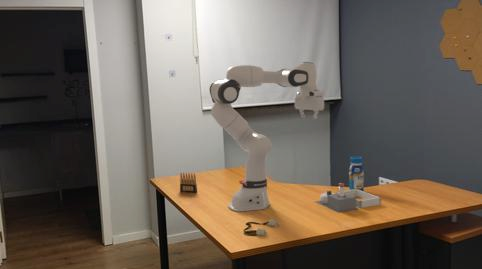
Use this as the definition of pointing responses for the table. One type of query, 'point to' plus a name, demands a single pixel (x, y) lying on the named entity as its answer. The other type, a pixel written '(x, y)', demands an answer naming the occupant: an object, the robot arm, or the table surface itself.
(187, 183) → the ammunition clip
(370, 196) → the tray
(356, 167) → the beverage bottle
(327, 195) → the grey rectangular block
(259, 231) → the cable
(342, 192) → the lock pin
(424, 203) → the table surface
